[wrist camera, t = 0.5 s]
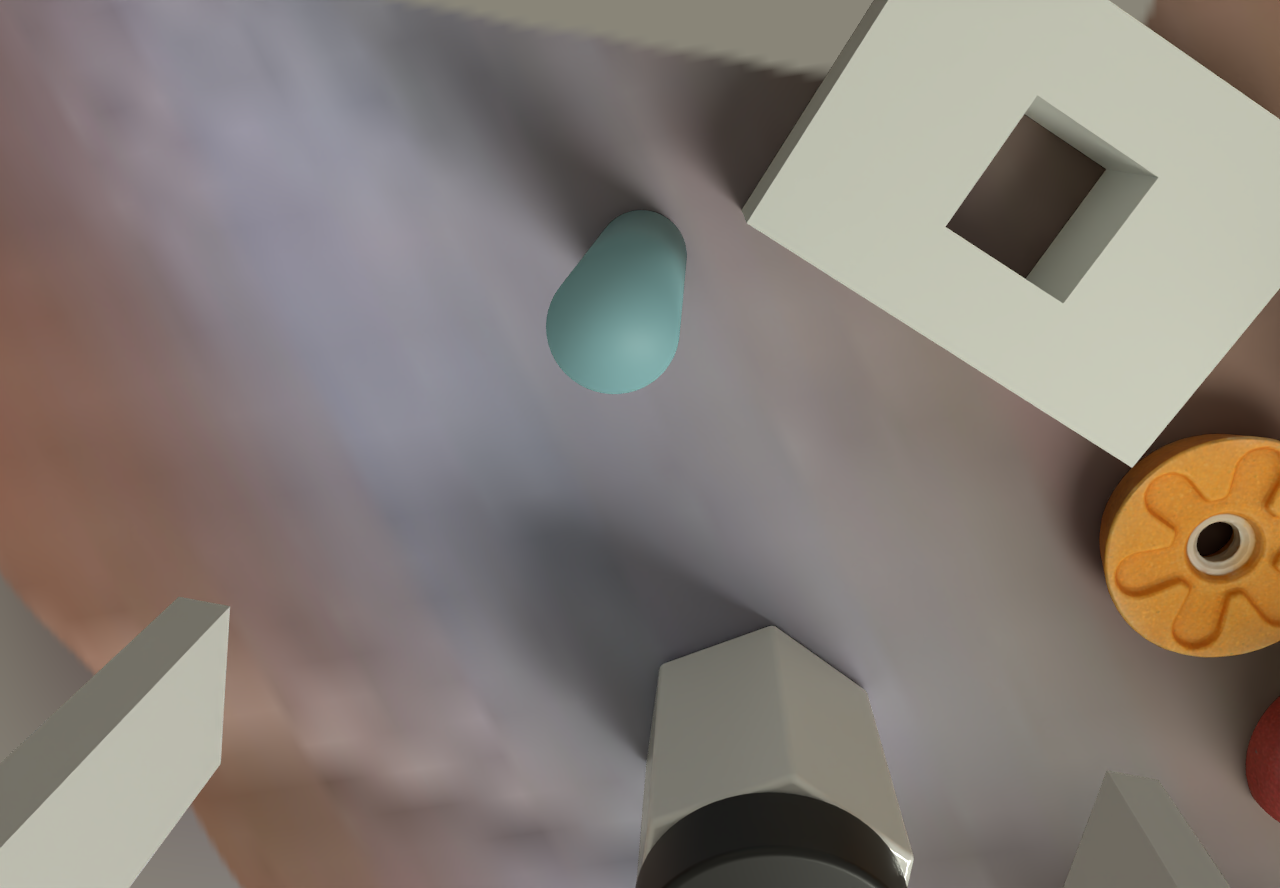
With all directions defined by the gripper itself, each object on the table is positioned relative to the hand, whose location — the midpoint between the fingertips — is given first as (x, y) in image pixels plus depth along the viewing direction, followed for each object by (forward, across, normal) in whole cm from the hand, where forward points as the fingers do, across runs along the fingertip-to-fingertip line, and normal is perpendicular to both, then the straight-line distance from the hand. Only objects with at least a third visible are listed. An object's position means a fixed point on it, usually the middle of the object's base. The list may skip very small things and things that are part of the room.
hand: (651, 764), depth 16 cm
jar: (+22, +5, -13) cm, 26 cm away
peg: (+22, -2, +4) cm, 22 cm away
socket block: (+22, +9, +8) cm, 25 cm away
